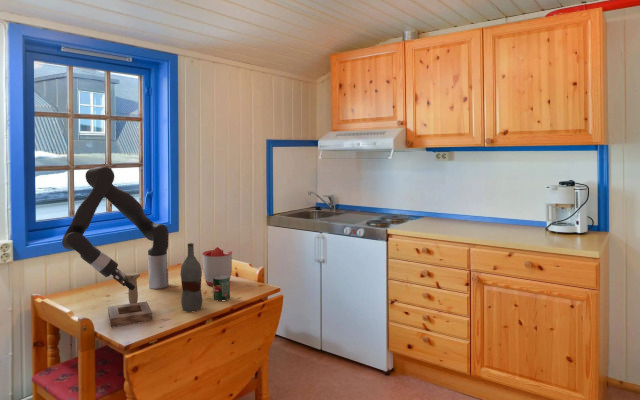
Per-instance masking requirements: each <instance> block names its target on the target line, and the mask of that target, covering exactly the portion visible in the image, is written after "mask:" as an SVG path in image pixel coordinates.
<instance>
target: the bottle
mask: <svg viewBox="0 0 640 400" xmlns="http://www.w3.org/2000/svg"><path fill="white" fill-rule="evenodd" d="M194 246H195V244H194V243H192V242H191V243H187V256H186V257H185V259H184V261H183V262H182V264H181V268H180V281H181V290H182V292H181V299H180V303H181V308H182V311H183V312H186V313H193V312H192V311H195V312H198V311H200V310H201V309H202V306H203V295H202V276H203V269H202V266H201V263H200V262H199V261H198V259H197V258H196V256H195V250H194V249H195V248H194ZM197 310H198V311H197Z"/></svg>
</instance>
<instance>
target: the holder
mask: <svg viewBox="0 0 640 400" xmlns="http://www.w3.org/2000/svg"><path fill="white" fill-rule="evenodd" d="M107 310H108V311H107V312H108V313H107V315H108V320H109V325H110V327H111V328H114V327H113V326H115V327H119V326H118V325H121V326H126V325H125V324H128V325H133V323H134V324H139V322H140V323H146V322H145V321H147V322H152V321H151V320H153V311H152V309H151V307H150V305H149V303H148V301H140V302H137V303H131V304H130V303H124V304H118V305H111V306H110V305H109V306H107Z"/></svg>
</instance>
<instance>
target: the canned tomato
mask: <svg viewBox="0 0 640 400" xmlns="http://www.w3.org/2000/svg"><path fill="white" fill-rule="evenodd" d="M230 282H231V277H230V276H229V275H223V274H222V275H215V276H213V286H212V288H213V289H212V291H213V299H212V300H213V301H215V300H218V301H217V302H223V301H222V300H227V299H229V298H230V299H231V291H230V289H231V288H230V285H231V284H230ZM230 299H229V300H230ZM227 301H228V300H227Z"/></svg>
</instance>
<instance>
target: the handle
mask: <svg viewBox="0 0 640 400" xmlns="http://www.w3.org/2000/svg"><path fill="white" fill-rule="evenodd" d="M124 274H125V277H126V278H127V279H128V280H129V282H130V283H131V284H133V285H134V286H135V288H134V289H133V290H130V289H129V288H128V295H127V296H128V302H129V303H128V304H131V303H138V300H139V291H138V282H137V281H138V278H140V276H141V273H140V272H126V273H124Z"/></svg>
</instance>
